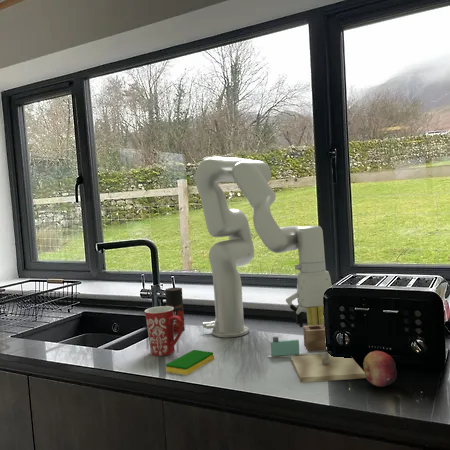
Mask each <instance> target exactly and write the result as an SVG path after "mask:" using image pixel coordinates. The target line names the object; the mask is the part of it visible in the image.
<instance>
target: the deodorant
mask: <svg viewBox="0 0 450 450" xmlns="http://www.w3.org/2000/svg"><path fill="white" fill-rule="evenodd" d="M182 288H183V287H169V288H165V303H166V305H165V306H170V307H173V308H174V310H173V316H179V317H181V319H182V321H183V330H182V333H183V332H185V318H184V317H185V315H184V314H185V313H184V301H183V300H184V299H183V289H182ZM178 331H179V323H178V321H177V320H176V319H174V334H178Z"/></svg>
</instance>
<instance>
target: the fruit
mask: <svg viewBox="0 0 450 450" xmlns="http://www.w3.org/2000/svg"><path fill="white" fill-rule="evenodd" d="M362 366H363V367H362V369H363V371H364V373H365V376H366V378H365V379H366V381H368V382H369V383H370V384H371V385H373V386H376V387H379V388H383V387H387V386H389V385H391V384H393V383H395V381H396V380H397V376H398V370H397V368H396V366H397V365H396V361H395V360H394V358H393V357H392V356H391V355H390V354H388V353H386V352H384V351H382V350H381V351H380V350H374V351H370V352H369V353H367V355H365V357H364V359H363V362H362Z"/></svg>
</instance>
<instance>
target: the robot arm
mask: <svg viewBox="0 0 450 450" xmlns="http://www.w3.org/2000/svg"><path fill="white" fill-rule="evenodd" d="M194 177H195V178H194V179H195V185H196V190H197V192H198V195H199V198H200V201H201V206H202V211H203V217H204V220H205V224H206V229H207V232H208V233H209V235H210V236H211V237H213V238H226V237H228V239H227V240H221V241H218V242H216V243H214V244H213V245H211V247H210V249H209V251H208V252H209V253H208V261H209V264H210V268H211V273H212V280H213V281H212V283H213V294H214V310H215V311H214V312H215V318H214V320H212V321H203V322H202V327H203V329H207V330H208V329H210V330H211V329H212V330H211V334H212V335H213V336H214V337H217V338H236V337H242V336H246V334H248V333H249V329H250V328H249V326H246V325H245V323H244V322H245V318H244V302H243V290H242V289H243V286H242V279H241V275H240V273H239V271H238V267H241V266H246V265H248V264H249V263H251V261H253V259H254V256H255V247H254V242H253V239H252V238H253V237H252V233H251V228H250V224H249V220H248V218H247V216H246V214H245V213H244V211H242V210H240V209H238V208H229V205H228V203H227V197H226V195H225V192H224V191H223V189H222V188H221V186H220V185H219V183H235V184H236V185H237V187H238V189H239V190H240V191H241V193H242V195H243V196H244V198H245V199H246V200H247V202H248V204H249V206H250V207H251V208H252V220H253V221H252V222H253V226H254V229H255V232H256V234H257V235H258V237H259V238H260V240H261V241H262V243H263V244H264V246H265V247H266V248H267V249H268V250H269V251H271V253H272V252H273V253H276V254H281V253H286V252H291V251H292V252H293V251H295V250H298V263H297V264H296V265H294V270H298V271H299V272H298V273H297V278H296V279H297V280H296V292H295V293H293V294H292V295H289V296H288V297H287V298H285V302H286V304H287V305H288V307H289V308H290V309H291V310H292V311H293V312H294V313H295V318H296V320H295V321H296V324H297V325H298V326H299V327H300V328H303V326H304V324H303V314H302V310H303V309H304V308H305V309H306V308H310V307H321V306H323V295H324V292H325V291H326V290H327V289H328V288H329V287H331V286H332V287H333V284H332V279H331V275H330V272H329V271H328V270H326V269H327V268H326V259H325V257H326V256H325V244H324V234H323V233H324V232H323V229H322V227H321V226H320V225H305V226H299V225H288V226H279V225H278V223H277V222H276V221H275V219H274V217H273V215H272V212H271V206H272V204H274V203H275V201H276V198H277V196H276V193H275V192H274V190H273V189H272V187H271V186H270V184H269V182H270V181H271V179H272V171H271V168H270V167H269V165H268V164H267V163H266V162H264V161H263V160H254V159H247V158H240V157H231V156H230V157H225V156H211V157H207V158H205V159H203V160H202V161H201V162H200V163H199V164H198V166H197V168H196V171H195V176H194ZM296 299H297V305H296V306H295V304H293V301H295V300H296Z"/></svg>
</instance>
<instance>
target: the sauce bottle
mask: <svg viewBox="0 0 450 450" xmlns="http://www.w3.org/2000/svg"><path fill="white" fill-rule="evenodd" d="M305 310H306V320H307V326H309V325H324V315H323V306H321V307H310V308H305Z"/></svg>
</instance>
